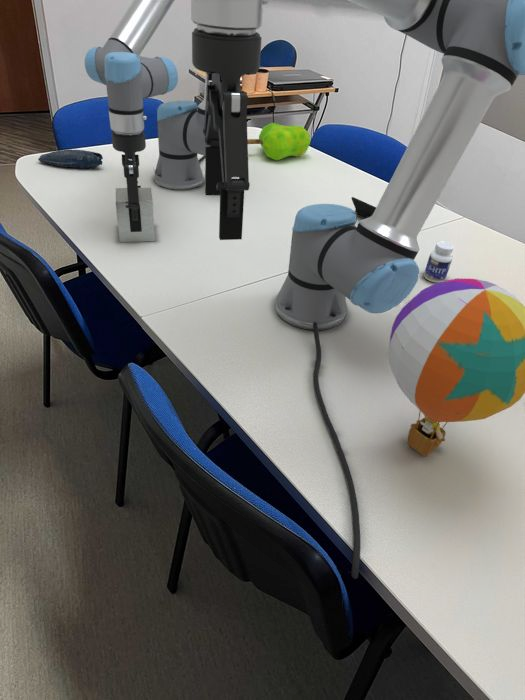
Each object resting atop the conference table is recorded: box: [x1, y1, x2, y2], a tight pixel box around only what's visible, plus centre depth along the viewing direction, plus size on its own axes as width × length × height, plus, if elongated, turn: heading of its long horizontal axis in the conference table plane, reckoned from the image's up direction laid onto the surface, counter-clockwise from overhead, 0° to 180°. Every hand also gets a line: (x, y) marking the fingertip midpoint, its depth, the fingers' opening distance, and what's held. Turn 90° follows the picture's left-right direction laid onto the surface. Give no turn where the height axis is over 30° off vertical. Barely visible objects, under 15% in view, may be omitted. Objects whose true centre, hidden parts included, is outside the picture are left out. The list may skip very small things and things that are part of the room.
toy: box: [387, 278, 525, 458], centre depth 75 cm, size 20×20×30 cm
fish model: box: [37, 149, 104, 170], centre depth 166 cm, size 7×21×5 cm, turn 84°
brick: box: [115, 187, 156, 243], centre depth 131 cm, size 8×9×11 cm
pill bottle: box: [423, 240, 454, 284], centre depth 125 cm, size 5×5×9 cm
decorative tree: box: [247, 122, 311, 161], centre depth 186 cm, size 18×10×30 cm
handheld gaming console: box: [351, 196, 377, 218], centre depth 151 cm, size 12×7×10 cm
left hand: (135, 223), depth 132 cm, fingers closed on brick, 8 cm apart
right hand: (222, 215), depth 69 cm, fingers open, 13 cm apart
